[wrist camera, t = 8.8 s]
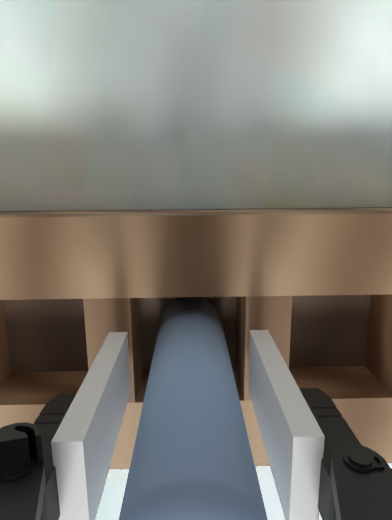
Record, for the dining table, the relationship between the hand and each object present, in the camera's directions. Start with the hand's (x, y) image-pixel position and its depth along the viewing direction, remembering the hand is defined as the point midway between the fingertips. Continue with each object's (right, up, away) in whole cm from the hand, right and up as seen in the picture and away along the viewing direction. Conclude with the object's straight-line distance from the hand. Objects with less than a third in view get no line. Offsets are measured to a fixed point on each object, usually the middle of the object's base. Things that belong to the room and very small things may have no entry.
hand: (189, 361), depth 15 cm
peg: (0, +1, +4) cm, 4 cm away
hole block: (0, +1, +4) cm, 4 cm away
